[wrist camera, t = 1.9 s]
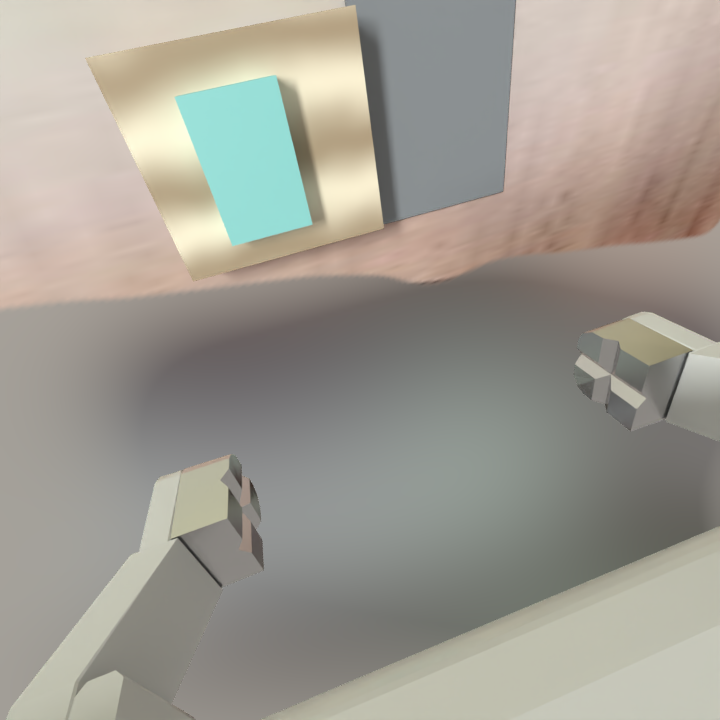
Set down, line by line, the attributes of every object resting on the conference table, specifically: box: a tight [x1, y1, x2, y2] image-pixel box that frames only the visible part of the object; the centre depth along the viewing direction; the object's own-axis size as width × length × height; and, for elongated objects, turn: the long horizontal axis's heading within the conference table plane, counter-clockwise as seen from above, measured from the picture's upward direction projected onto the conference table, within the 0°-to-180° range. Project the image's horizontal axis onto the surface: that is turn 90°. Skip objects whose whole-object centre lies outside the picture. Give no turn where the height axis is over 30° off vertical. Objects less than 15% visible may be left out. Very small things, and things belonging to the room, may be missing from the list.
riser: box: [85, 5, 384, 281], centre depth 28 cm, size 14×16×4 cm
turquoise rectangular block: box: [175, 75, 313, 246], centre depth 26 cm, size 9×6×2 cm, turn 10°
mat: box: [345, 0, 516, 224], centre depth 32 cm, size 16×13×1 cm
